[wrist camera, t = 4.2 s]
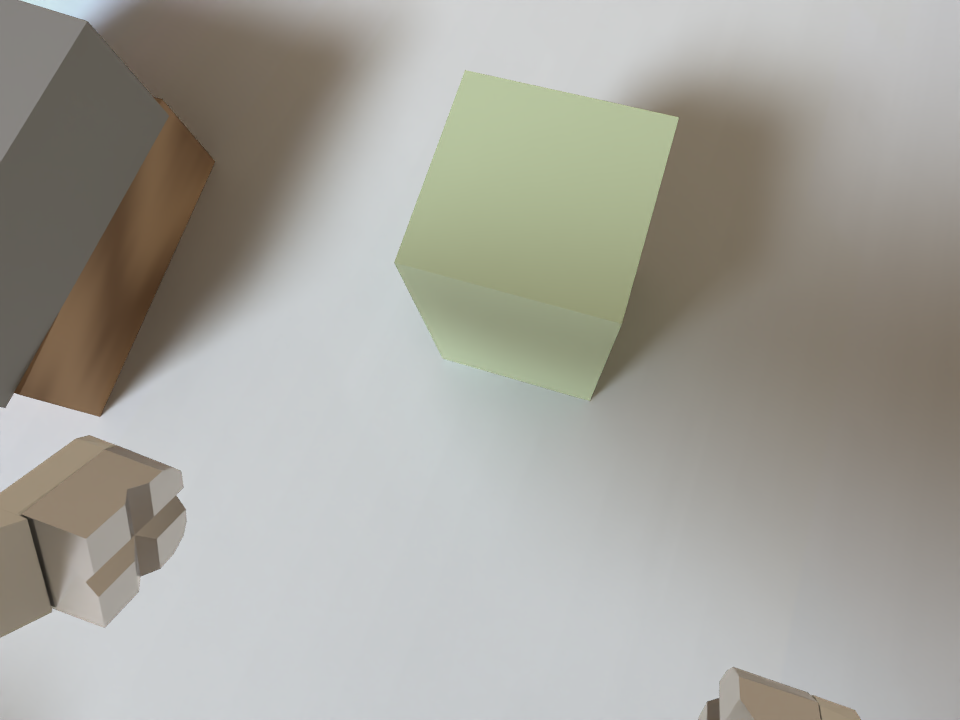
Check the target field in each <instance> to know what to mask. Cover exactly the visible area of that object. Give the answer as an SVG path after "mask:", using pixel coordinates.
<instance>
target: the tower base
mask: <svg viewBox="0 0 960 720" xmlns="http://www.w3.org/2000/svg"><path fill="white" fill-rule="evenodd" d="M154 99H155V100H156V101H157V102H158V103H159V104H160V106H161V107H162V108H163V109H164V110H165V111H166V112H167V114H168V115H169V117H168V119H167V121H166V123H165V124H164V126H163V128H162V130H161V132H160V133H159V135H158V137H157V139H156V140H155V142H154V144H153V146H152V148H151V149H150V151H149V153H148V155H147V157H146V158H145V160H144V162H143V164H142V165H141V167H140V169H139V171H138V173H137V174H136V176H135V178H134V180H133V181H132V183H131V185H130V187H129V189H128V190H127V192H126V194H125V196H124V198H123V199H122V201H121V203H120V205H119V206H118V208H117V210H116V212H115V214H114V215H113V217H112V219H111V221H110V222H109V224H108V226H107V228H106V230H105V231H104V233H103V235H102V237H101V238H100V240H99V242H98V244H97V246H96V247H95V249H94V251H93V253H92V255H91V256H90V258H89V260H88V262H87V263H86V265H85V267H84V269H83V271H82V272H81V274H80V276H79V278H78V279H77V281H76V283H75V285H74V287H73V288H72V290H71V292H70V294H69V296H68V297H67V299H66V301H65V303H64V304H63V306H62V308H61V310H60V312H59V313H58V315H57V317H56V319H55V320H54V322H53V324H52V326H51V328H50V329H49V331H48V333H47V335H46V336H45V338H44V340H43V342H42V344H41V345H40V347H39V349H38V351H37V353H36V354H35V356H34V358H33V360H32V361H31V363H30V365H29V367H28V369H27V370H26V372H25V374H24V376H23V377H22V379H21V381H20V383H19V385H18V386H17V388H16V390H15V392H14V393H16V394H19V395H23V396H26V397H30V398H34V399H37V400H41V401H45V402H48V403H52V404H55V405H59V406H63V407H66V408H70V409H74V410H77V411H81V412H84V413H88V414H92V415H95V416H99V417H100V416H101V414H102V411H103V409H104V407H105V405H106V402H107V400H108V398H109V396H110V394H111V391H112V389H113V387H114V385H115V383H116V380H117V378H118V376H119V374H120V371H121V369H122V367H123V365H124V363H125V360H126V358H127V356H128V354H129V352H130V349H131V347H132V345H133V343H134V340H135V338H136V336H137V334H138V332H139V329H140V327H141V325H142V323H143V321H144V318H145V316H146V314H147V312H148V309H149V307H150V305H151V303H152V301H153V298H154V296H155V294H156V292H157V290H158V287H159V285H160V283H161V281H162V278H163V276H164V274H165V272H166V270H167V267H168V265H169V263H170V261H171V258H172V256H173V254H174V252H175V250H176V247H177V245H178V243H179V241H180V239H181V236H182V234H183V232H184V230H185V228H186V225H187V223H188V221H189V219H190V216H191V214H192V212H193V210H194V208H195V205H196V203H197V201H198V199H199V196H200V194H201V192H202V190H203V188H204V185H205V183H206V181H207V179H208V177H209V174H210V172H211V170H212V168H213V165H214V163H215V161H214V160H213V158H212V157H211V156H210V155H209V154H208V153H207V151H206V150H205V149H204V148H203V147H202V145H201V144H200V143H199V142H198V141H197V140H196V138H195V137H194V136H193V135H192V134H191V133H190V131H189V130H188V129H187V128H186V127H185V125H184V124H183V123H182V122H181V121H180V120H179V118H178V117H177V116H176V115H175V114H174V112H173V111H172V110H171V109H170V108H169V107H168V105H167V104H166V103H165V102H164V101H163V100H162V99H159V98H155V97H154Z"/></svg>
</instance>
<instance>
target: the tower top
mask: <svg viewBox="0 0 960 720" xmlns="http://www.w3.org/2000/svg"><path fill="white" fill-rule="evenodd" d="M168 117H169V115H168V114H167V112H166V111H165V110H164V109H163V108H162V107H161V106H160V104H159V103H158V102H157V101H156V100H155V99H154V97H153V96H152V95H151V94H150V93H149V92H148V91H147V89H146V88H145V87H144V86H143V85H142V84H141V82H140V81H139V80H138V79H137V78H136V77H135V76H134V74H133V73H132V72H131V71H130V70H129V69H128V67H127V66H126V65H125V64H124V63H123V62H122V61H121V59H120V58H119V57H118V56H117V55H116V54H115V52H114V51H113V50H112V49H111V48H110V47H109V46H108V44H107V43H106V42H105V41H104V40H103V39H102V37H101V36H100V35H99V34H98V33H97V32H96V31H95V29H94V28H93V27H92V26H91V25H90V24H89V22H88V21H85V20H82V19H79V18H75V17H72V16H69V15H66V14H62V13H59V12H56V11H53V10H49V9H46V8H43V7H40V6H36V5H33V4H30V3H26V2H23V1H20V0H0V407H3V408H6V406H7V404H8V402H9V401H10V399H11V397H12V395H13V394H14V392H15V390H16V388H17V386H18V385H19V383H20V381H21V379H22V377H23V376H24V374H25V372H26V370H27V369H28V367H29V365H30V363H31V361H32V360H33V358H34V356H35V354H36V353H37V351H38V349H39V347H40V345H41V344H42V342H43V340H44V338H45V336H46V335H47V333H48V331H49V329H50V328H51V326H52V324H53V322H54V320H55V319H56V317H57V315H58V313H59V312H60V310H61V308H62V306H63V304H64V303H65V301H66V299H67V297H68V296H69V294H70V292H71V290H72V288H73V287H74V285H75V283H76V281H77V279H78V278H79V276H80V274H81V272H82V271H83V269H84V267H85V265H86V263H87V262H88V260H89V258H90V256H91V255H92V253H93V251H94V249H95V247H96V246H97V244H98V242H99V240H100V238H101V237H102V235H103V233H104V231H105V230H106V228H107V226H108V224H109V222H110V221H111V219H112V217H113V215H114V214H115V212H116V210H117V208H118V206H119V205H120V203H121V201H122V199H123V198H124V196H125V194H126V192H127V190H128V189H129V187H130V185H131V183H132V181H133V180H134V178H135V176H136V174H137V173H138V171H139V169H140V167H141V165H142V164H143V162H144V160H145V158H146V157H147V155H148V153H149V151H150V149H151V148H152V146H153V144H154V142H155V140H156V139H157V137H158V135H159V133H160V132H161V130H162V128H163V126H164V124H165V123H166V121H167V119H168Z"/></svg>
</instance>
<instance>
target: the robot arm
mask: <svg viewBox="0 0 960 720" xmlns="http://www.w3.org/2000/svg"><path fill="white" fill-rule="evenodd" d="M183 488H184V486H183V480H182V473H181V471H180V470H178V469H176V468H173V467H171V466H168V465H166V464H163V463H161V462H158V461H156V460H153V459H151V458H148V457H145V456H143V455H140V454H138V453H135V452H133V451H130V450H128V449H125V448H122V447H120V446H117V445H114V444H112V443H109V442H106V441H104V440H101V439H98V438H95V437H93V436H90V435H88V436H84V437H80V438H77V439H75V440H73V441H72V442H71V443H69V444H68V445H66V446H65V447H64V448H62V449H61V450H59V451H58V452H57V453H55V454H54V455H52V456H51V457H50V458H48V459H47V460H45V461H44V462H43V463H41V464H40V465H38V466H37V467H36V468H34V469H33V470H32V471H30V472H29V473H27V474H26V475H25V476H23V477H22V478H20V479H19V480H18V481H16V482H15V483H13V484H12V485H11V486H9V487H8V488H6V489H5V490H4V491H2V492H1V493H0V637H2V636H5V635H7V634H9V633H11V632H13V631H15V630H17V629H19V628H21V627H23V626H25V625H27V624H29V623H31V622H33V621H35V620H37V619H39V618H41V617H43V616H45V615H47V614H49V613H51V612H52V608H53V609H56V610H58V611H61V612H64V613H66V614H69V615H72V616H74V617H77V618H80V619H83V620H85V621H88V622H91V623H93V624H96V625H99V626H101V627H104V628H105V627H106V626H107V625H108V624H109V623H110V622H111V621H112V620H113V619H114V618H115V617H116V616H117V615H118V613H119V612H120V611H121V610H122V609H123V608H124V607H125V606H126V605H127V604H128V603H129V602H130V601H131V600H132V599H133V598H134V596H135V595H136V594H137V593H138V592H139V586H140V577H141V576H143V575H146V574H148V573H151V572H153V571H156V570H158V569H161V567H162V566H163V565H164V564H165V563H166V562H167V561H168V560H169V559H170V557H171V556H172V555H173V554H174V552H175V551H176V549H177V547H178V545H179V543H180V541H181V539H182V537H183V536H184V531H185V526H186V522H187V520H186V509H185V508H184V506H183V505H182V503H181V502H180V500H179V499H178V497H177V496H176V495H177V494H178V493H179V492H180V491H181V490H182V489H183ZM698 720H861V719H860V717H859V716H858V714H857V713H856V711H855V710H853V709H850V708H847V707H845V706H842V705H839V704H836V703H834V702H831V701H828V700H825V699H822V698H820V697H817V696H814V695H810V694H809V693H808V692H805V691H802V690H799V689H796V688H793V687H790V686H787V685H785V684H782V683H779V682H776V681H773V680H770V679H767V678H764V677H761V676H758V675H755V674H753V673H750V672H747V671H744V670H741V669H738V668H735V667H732V668H730V669H729V670H727V671H726V672H725V674H724V675H723V677H722V679H721V680H720V682H719V698H717V699H714V700H711V701H708V702H707V703H706V705H705V707H704V708H703V710H702V712H701V714H700V716H699V718H698Z"/></svg>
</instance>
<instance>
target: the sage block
mask: <svg viewBox="0 0 960 720" xmlns="http://www.w3.org/2000/svg"><path fill="white" fill-rule="evenodd" d="M678 120H679V117H676V116H671V115H666V114H662V113H657V112H653V111H648V110H644V109H639V108H635V107H630V106H625V105H621V104H616V103H612V102H607V101H603V100H598V99H594V98H589V97H585V96H580V95H575V94H571V93H566V92H562V91H557V90H553V89H548V88H544V87H539V86H535V85H530V84H525V83H521V82H516V81H512V80H507V79H503V78H498V77H494V76H489V75H484V74H480V73H475V72H471V71H466V70H465V72H464V75H463V78H462V80H461V83H460V86H459V88H458V91H457V94H456V97H455V99H454V102H453V105H452V107H451V110H450V113H449V116H448V118H447V121H446V124H445V126H444V129H443V132H442V135H441V137H440V140H439V143H438V145H437V148H436V151H435V154H434V156H433V159H432V162H431V164H430V167H429V170H428V173H427V175H426V178H425V181H424V183H423V186H422V189H421V192H420V194H419V197H418V200H417V202H416V205H415V208H414V211H413V213H412V216H411V219H410V221H409V224H408V227H407V230H406V232H405V235H404V238H403V240H402V243H401V246H400V249H399V251H398V254H397V257H396V259H395V262H394V263H395V265H396V267H397V269H398V271H399V273H400V275H401V277H402V279H403V281H404V283H405V285H406V287H407V289H408V291H409V293H410V295H411V297H412V299H413V301H414V303H415V305H416V307H417V309H418V310H419V312H420V314H421V316H422V318H423V320H424V322H425V324H426V326H427V328H428V330H429V332H430V334H431V336H432V338H433V340H434V342H435V344H436V346H437V348H438V350H439V352H440V354H441V356H442V358H443V359H446V360H450V361H453V362H457V363H460V364H464V365H467V366H471V367H474V368H477V369H481V370H484V371H488V372H491V373H495V374H498V375H502V376H505V377H509V378H512V379H515V380H519V381H522V382H526V383H529V384H533V385H536V386H540V387H543V388H547V389H550V390H553V391H557V392H560V393H564V394H567V395H571V396H574V397H578V398H581V399H585V400H588V401H590V399H591V397H592V395H593V392H594V390H595V387H596V385H597V383H598V380H599V378H600V375H601V373H602V371H603V368H604V366H605V363H606V361H607V359H608V356H609V354H610V351H611V349H612V347H613V344H614V342H615V339H616V337H617V335H618V332H619V330H620V327H621V325H622V322H623V318H624V315H625V311H626V307H627V304H628V300H629V297H630V293H631V289H632V286H633V282H634V279H635V275H636V271H637V268H638V264H639V260H640V257H641V253H642V250H643V246H644V242H645V239H646V235H647V232H648V228H649V224H650V221H651V217H652V214H653V210H654V206H655V203H656V199H657V196H658V192H659V188H660V185H661V181H662V177H663V174H664V170H665V167H666V163H667V159H668V156H669V152H670V149H671V145H672V141H673V138H674V134H675V131H676V127H677V123H678Z"/></svg>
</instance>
